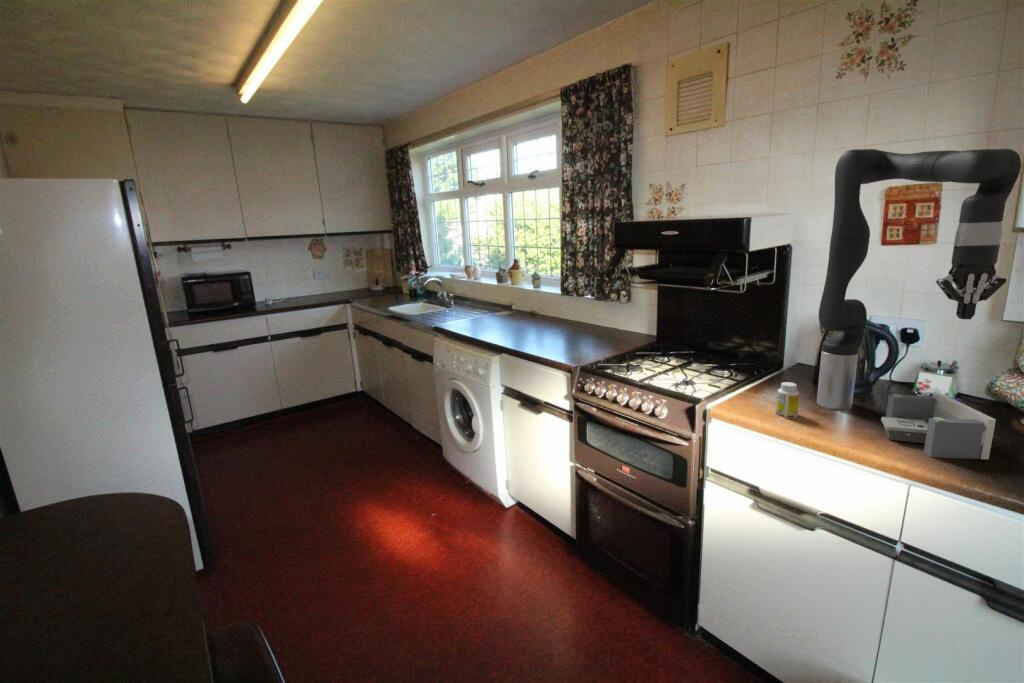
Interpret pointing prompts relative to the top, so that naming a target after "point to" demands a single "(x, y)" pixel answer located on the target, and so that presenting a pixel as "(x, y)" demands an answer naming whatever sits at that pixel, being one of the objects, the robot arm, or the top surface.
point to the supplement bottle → (787, 400)
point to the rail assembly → (946, 425)
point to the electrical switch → (905, 429)
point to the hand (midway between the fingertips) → (964, 318)
